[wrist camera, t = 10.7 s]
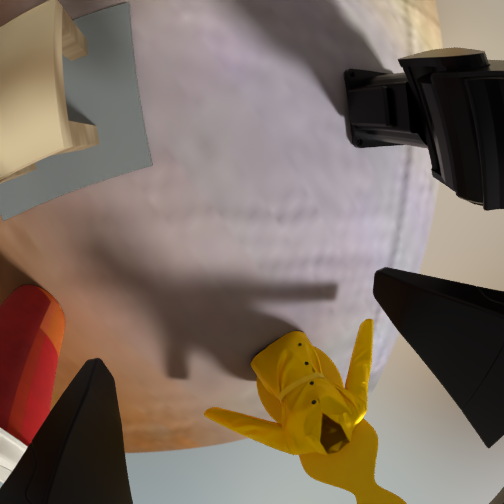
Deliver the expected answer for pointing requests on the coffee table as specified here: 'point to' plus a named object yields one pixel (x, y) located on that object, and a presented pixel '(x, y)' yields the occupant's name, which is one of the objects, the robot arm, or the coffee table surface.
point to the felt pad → (91, 117)
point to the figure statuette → (316, 413)
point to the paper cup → (26, 368)
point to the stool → (38, 89)
